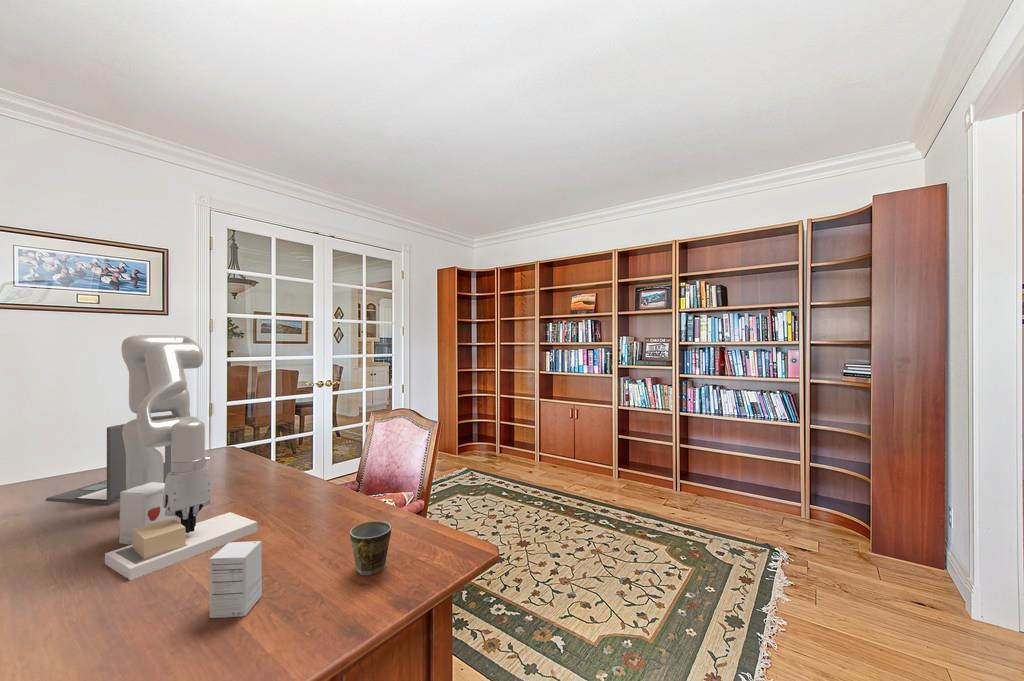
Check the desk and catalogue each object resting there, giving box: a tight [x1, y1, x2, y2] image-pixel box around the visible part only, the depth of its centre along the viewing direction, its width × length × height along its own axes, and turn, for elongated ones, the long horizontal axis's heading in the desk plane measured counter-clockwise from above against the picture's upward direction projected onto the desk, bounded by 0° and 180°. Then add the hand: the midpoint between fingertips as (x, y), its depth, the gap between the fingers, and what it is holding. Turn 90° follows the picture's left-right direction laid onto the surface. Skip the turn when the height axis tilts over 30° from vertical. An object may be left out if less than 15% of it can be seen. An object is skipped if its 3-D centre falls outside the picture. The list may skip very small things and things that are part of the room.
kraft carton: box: [133, 518, 186, 559], centre depth 112 cm, size 10×8×5 cm
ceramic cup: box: [349, 520, 392, 576], centre depth 106 cm, size 13×10×10 cm
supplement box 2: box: [208, 540, 263, 619], centre depth 91 cm, size 7×7×13 cm
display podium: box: [104, 511, 258, 581], centre depth 118 cm, size 15×30×3 cm, turn 151°
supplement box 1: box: [119, 482, 175, 545], centre depth 123 cm, size 9×9×15 cm
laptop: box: [45, 415, 191, 506], centre depth 164 cm, size 32×26×28 cm
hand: (188, 531), depth 118 cm, fingers closed
